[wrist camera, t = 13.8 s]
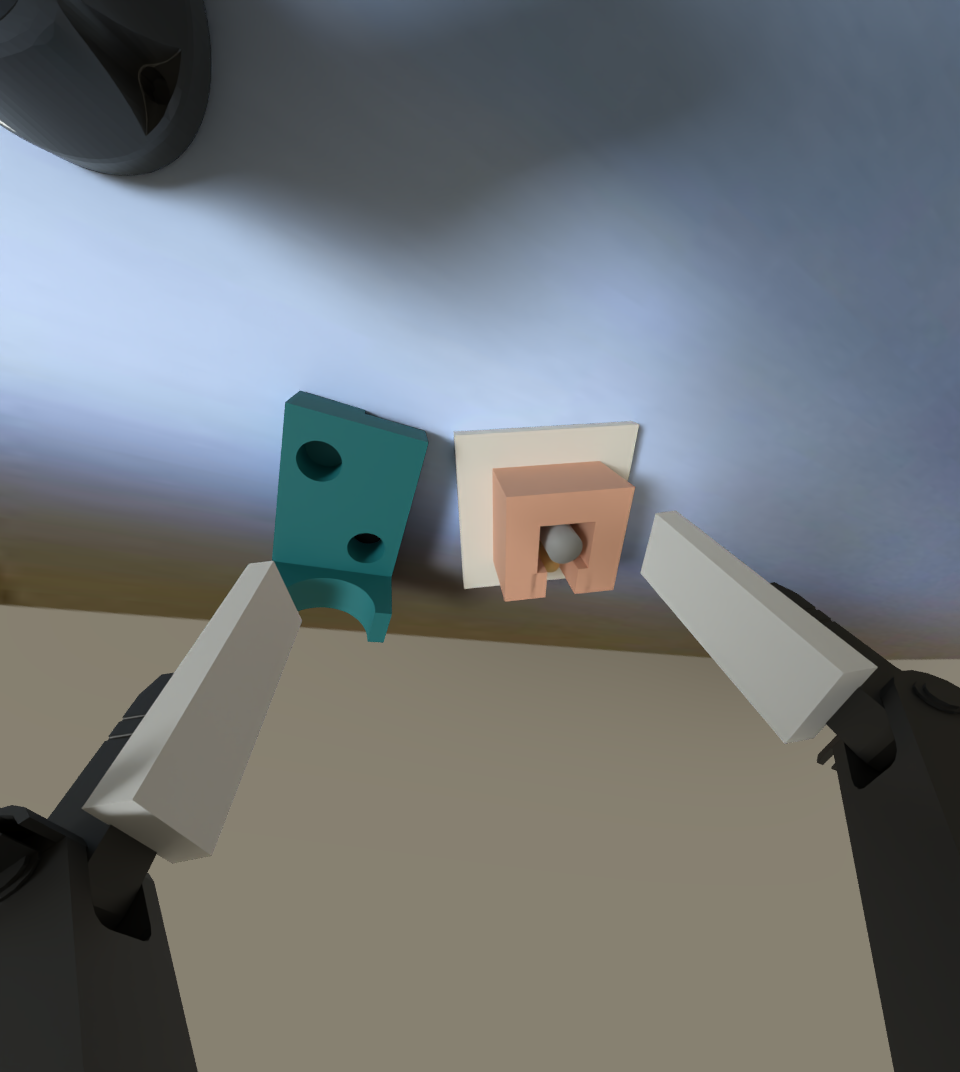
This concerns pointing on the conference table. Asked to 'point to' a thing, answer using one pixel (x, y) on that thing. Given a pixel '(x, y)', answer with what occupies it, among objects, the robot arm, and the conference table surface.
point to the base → (527, 449)
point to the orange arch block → (555, 499)
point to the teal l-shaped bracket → (343, 506)
